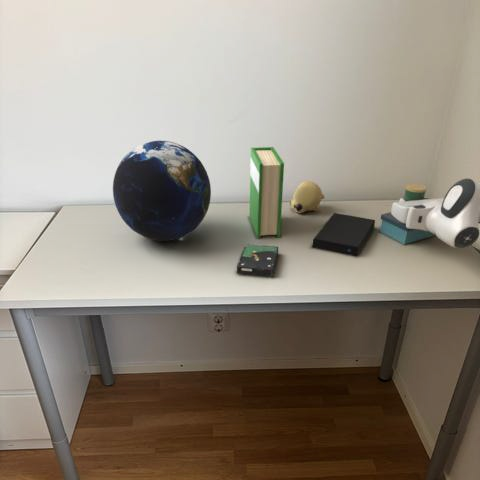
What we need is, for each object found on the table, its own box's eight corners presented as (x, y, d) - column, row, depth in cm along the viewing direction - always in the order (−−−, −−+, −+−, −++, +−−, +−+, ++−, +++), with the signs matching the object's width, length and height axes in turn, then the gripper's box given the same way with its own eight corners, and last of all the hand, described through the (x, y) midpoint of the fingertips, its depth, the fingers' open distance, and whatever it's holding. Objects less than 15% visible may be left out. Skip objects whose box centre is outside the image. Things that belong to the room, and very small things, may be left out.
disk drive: (272, 278, 144) (278, 254, 156) (273, 269, 143) (278, 245, 155) (236, 275, 146) (244, 251, 158) (236, 266, 144) (244, 243, 156)
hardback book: (279, 237, 167) (284, 163, 153) (257, 238, 166) (259, 164, 152) (270, 216, 181) (273, 147, 168) (249, 217, 180) (250, 147, 167)
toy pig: (299, 214, 192) (280, 198, 186) (321, 189, 189) (302, 171, 183) (309, 224, 184) (289, 207, 178) (332, 197, 181) (312, 179, 175)
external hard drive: (373, 228, 173) (375, 219, 171) (356, 256, 156) (358, 247, 154) (332, 220, 178) (333, 212, 176) (312, 247, 160) (312, 238, 159)
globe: (230, 234, 168) (230, 140, 152) (164, 267, 149) (155, 164, 132) (167, 211, 184) (160, 124, 167) (100, 238, 165) (84, 143, 148)
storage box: (408, 223, 177) (412, 206, 173) (435, 236, 168) (439, 218, 165) (378, 231, 171) (381, 214, 167) (404, 245, 162) (408, 227, 159)
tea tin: (409, 211, 170) (415, 182, 164) (424, 218, 165) (430, 188, 159) (396, 215, 167) (401, 185, 161) (410, 222, 162) (416, 191, 157)
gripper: (469, 203, 153) (443, 187, 164) (407, 209, 149) (384, 192, 160) (463, 222, 156) (438, 206, 168) (403, 229, 152) (381, 211, 163)
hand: (411, 199), depth 164 cm, fingers closed on tea tin, 6 cm apart
